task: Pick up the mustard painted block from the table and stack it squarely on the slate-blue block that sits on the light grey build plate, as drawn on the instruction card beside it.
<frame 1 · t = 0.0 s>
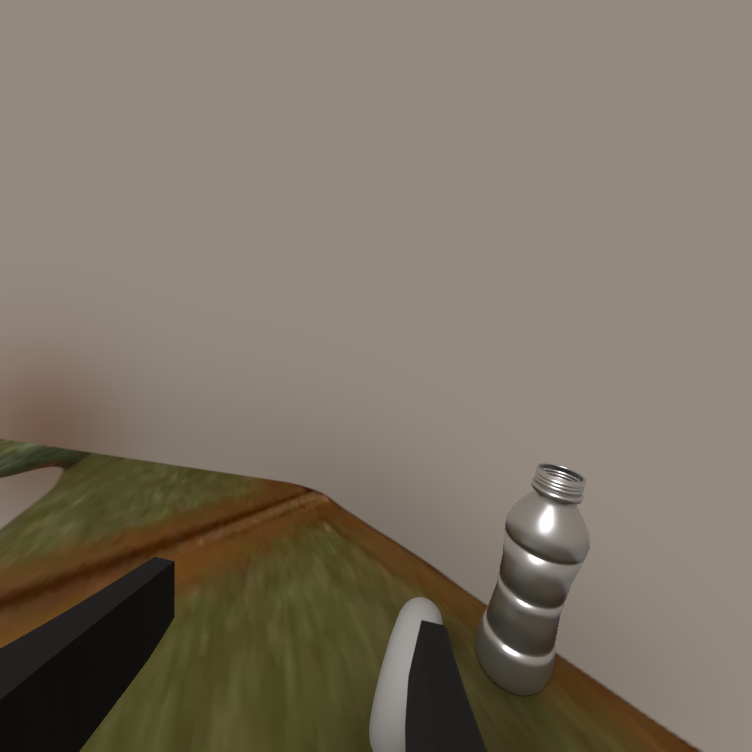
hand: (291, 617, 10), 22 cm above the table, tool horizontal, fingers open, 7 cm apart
plastic bottle: (506, 672, 33), on the table
donut: (397, 730, 27), on the table
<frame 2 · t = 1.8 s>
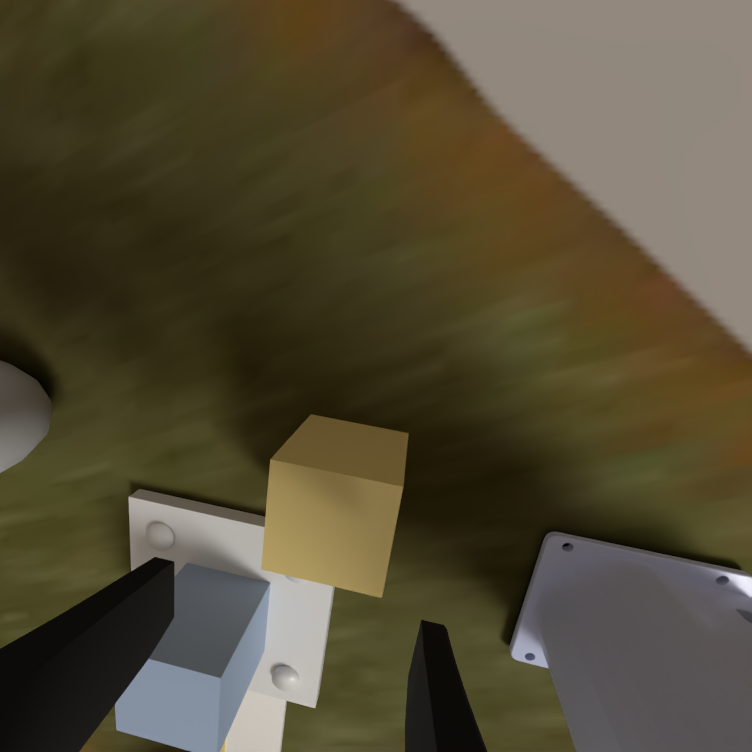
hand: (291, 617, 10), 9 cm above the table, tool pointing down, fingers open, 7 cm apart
mustard block: (352, 467, 18), on the table
slate block: (226, 607, 20), point 1 cm above the table, touching build plate
build plate: (233, 596, 21), on the table
instruction card: (212, 710, 24), on the table
donut: (26, 383, 20), on the table
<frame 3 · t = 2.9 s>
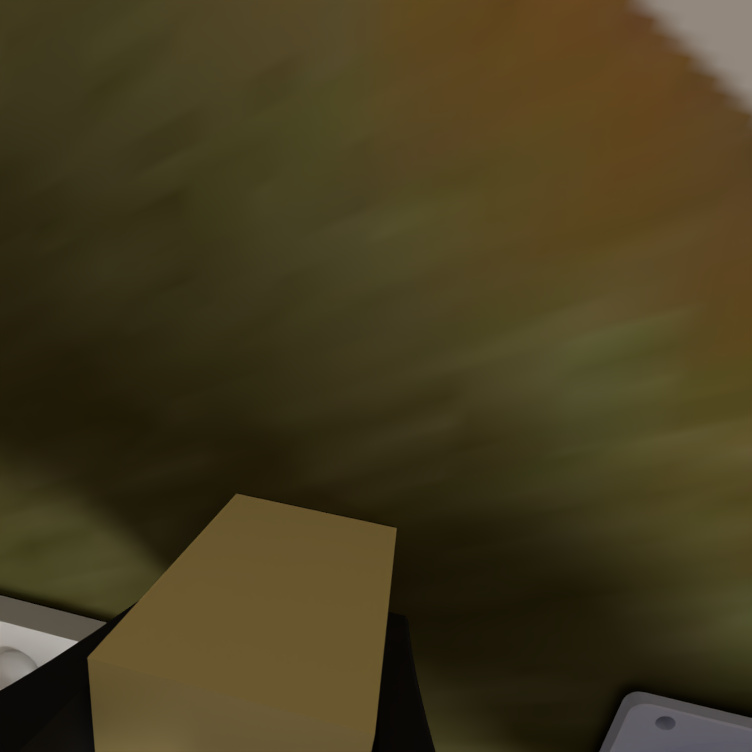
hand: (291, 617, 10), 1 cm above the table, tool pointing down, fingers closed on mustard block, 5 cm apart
mustard block: (306, 577, 11), on the table, touching gripper
build plate: (140, 744, 14), on the table
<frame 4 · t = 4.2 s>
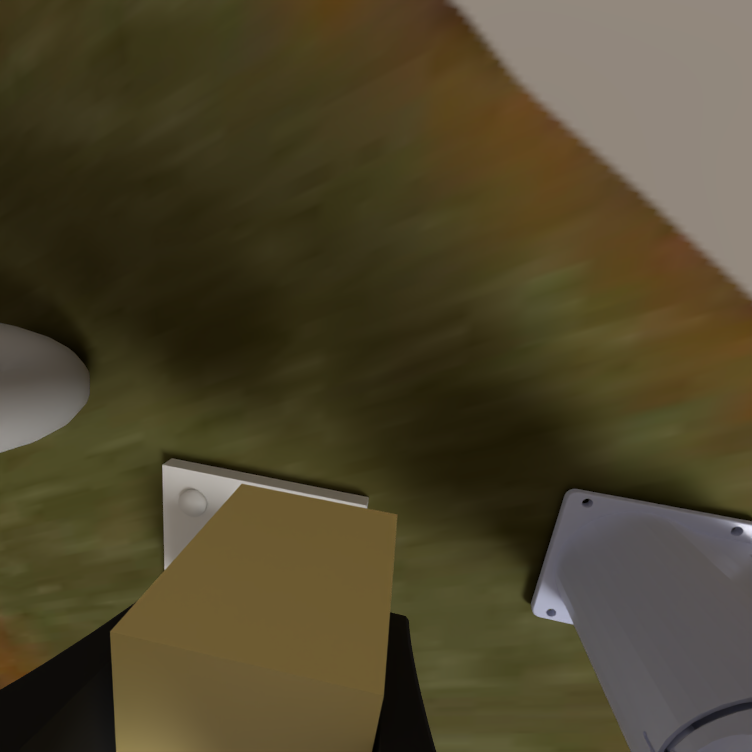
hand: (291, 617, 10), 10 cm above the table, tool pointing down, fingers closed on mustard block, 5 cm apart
mustard block: (310, 564, 12), point 8 cm above the table, touching gripper
build plate: (262, 562, 22), on the table
donut: (62, 357, 21), on the table
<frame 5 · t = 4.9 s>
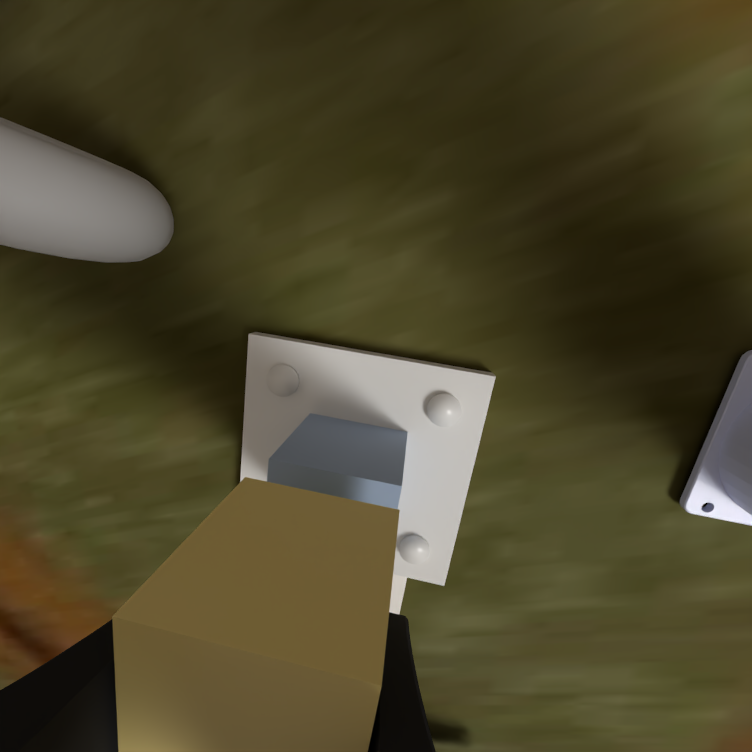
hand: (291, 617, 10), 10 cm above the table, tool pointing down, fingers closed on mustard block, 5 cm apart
mustard block: (312, 559, 12), point 8 cm above the table, touching gripper
slate block: (351, 466, 18), point 1 cm above the table, touching build plate
build plate: (354, 459, 19), on the table
instruction card: (317, 601, 22), on the table
donut: (130, 209, 18), on the table
when the fingers open (8 cm above the table, at t = 5.6 s): mustard block stays where it is, resting on slate block.
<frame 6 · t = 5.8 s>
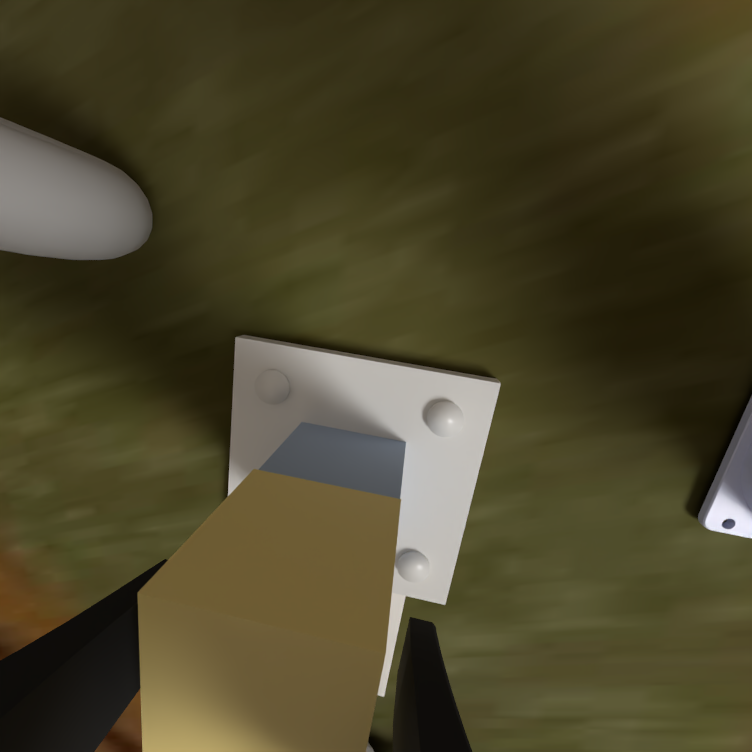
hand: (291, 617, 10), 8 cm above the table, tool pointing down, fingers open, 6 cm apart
mustard block: (318, 546, 12), point 6 cm above the table, touching slate block
slate block: (346, 478, 17), point 1 cm above the table, touching build plate, mustard block
build plate: (349, 470, 18), on the table
instruction card: (310, 619, 20), on the table
donut: (109, 203, 16), on the table
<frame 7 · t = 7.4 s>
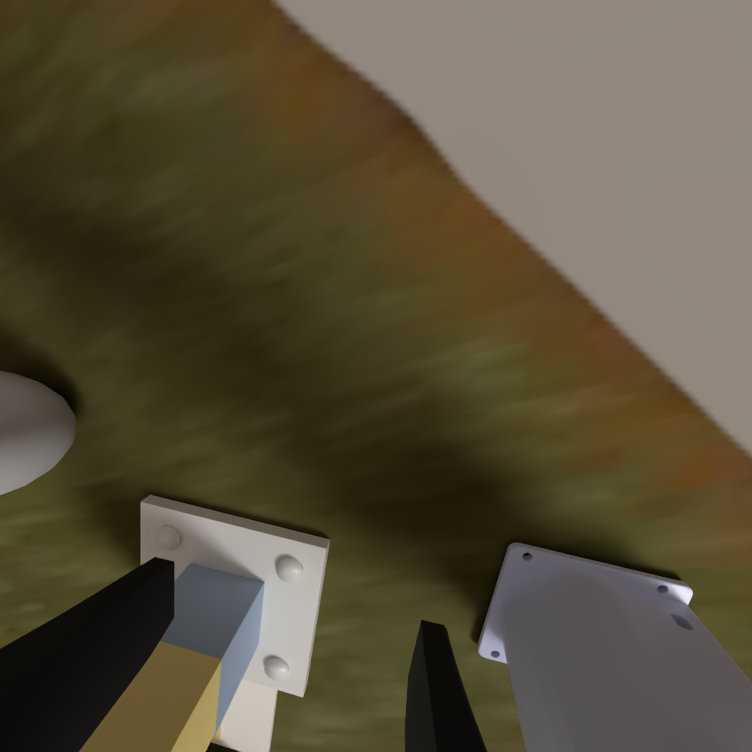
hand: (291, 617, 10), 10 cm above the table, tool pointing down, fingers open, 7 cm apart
mustard block: (172, 682, 18), point 6 cm above the table, touching slate block
slate block: (225, 603, 23), point 1 cm above the table, touching build plate, mustard block
build plate: (231, 593, 24), on the table
instruction card: (210, 697, 26), on the table
donut: (52, 398, 22), on the table
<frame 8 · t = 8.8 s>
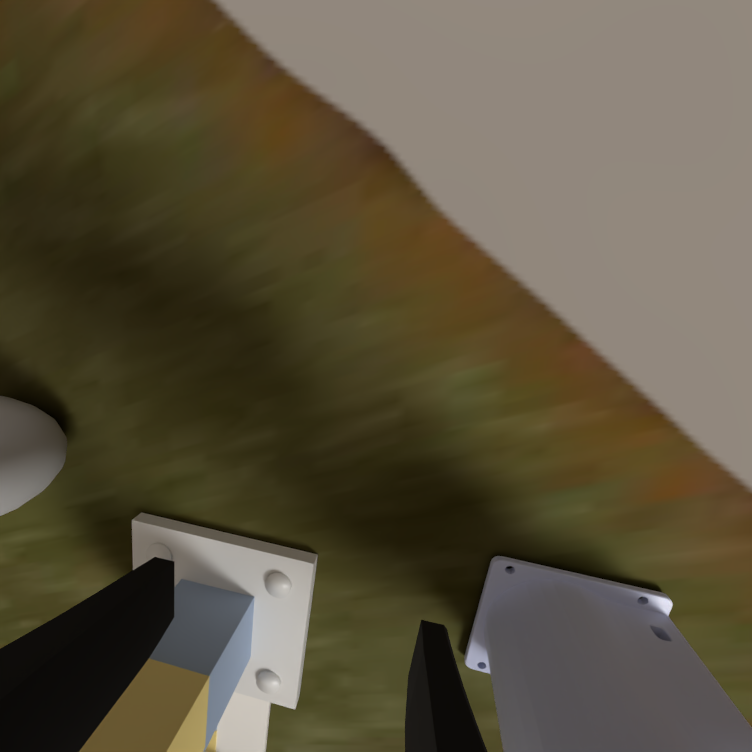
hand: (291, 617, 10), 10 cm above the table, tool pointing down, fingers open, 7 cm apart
mustard block: (162, 698, 18), point 6 cm above the table, touching slate block
slate block: (216, 618, 23), point 1 cm above the table, touching build plate, mustard block
build plate: (223, 607, 24), on the table
instruction card: (205, 710, 26), on the table
donut: (44, 419, 23), on the table
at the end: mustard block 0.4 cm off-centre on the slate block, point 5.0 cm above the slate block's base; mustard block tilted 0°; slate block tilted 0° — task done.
